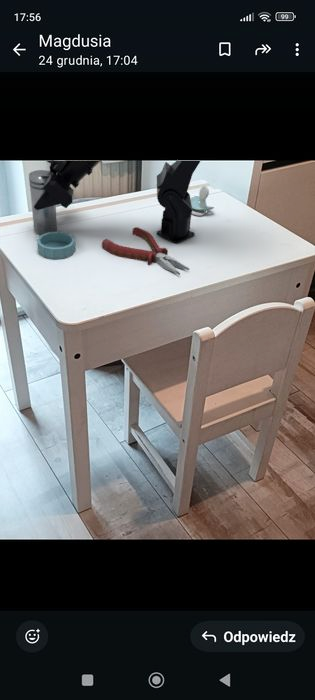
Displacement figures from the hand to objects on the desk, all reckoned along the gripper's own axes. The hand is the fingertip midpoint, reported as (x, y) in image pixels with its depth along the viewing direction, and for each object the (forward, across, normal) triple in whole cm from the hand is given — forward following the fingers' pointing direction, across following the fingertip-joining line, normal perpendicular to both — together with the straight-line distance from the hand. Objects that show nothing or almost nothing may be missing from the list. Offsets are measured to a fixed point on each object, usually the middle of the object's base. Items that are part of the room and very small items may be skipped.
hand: (37, 202), depth 125 cm
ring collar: (+1, +9, +8) cm, 12 cm away
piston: (+4, 0, +6) cm, 7 cm away
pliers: (-11, +10, +22) cm, 26 cm away
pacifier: (-22, -14, +31) cm, 41 cm away
